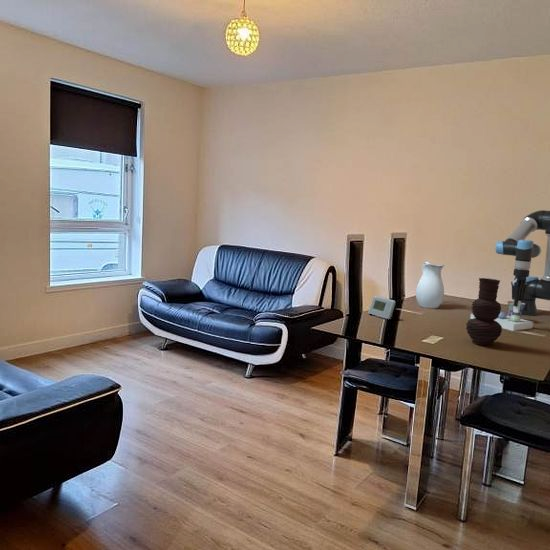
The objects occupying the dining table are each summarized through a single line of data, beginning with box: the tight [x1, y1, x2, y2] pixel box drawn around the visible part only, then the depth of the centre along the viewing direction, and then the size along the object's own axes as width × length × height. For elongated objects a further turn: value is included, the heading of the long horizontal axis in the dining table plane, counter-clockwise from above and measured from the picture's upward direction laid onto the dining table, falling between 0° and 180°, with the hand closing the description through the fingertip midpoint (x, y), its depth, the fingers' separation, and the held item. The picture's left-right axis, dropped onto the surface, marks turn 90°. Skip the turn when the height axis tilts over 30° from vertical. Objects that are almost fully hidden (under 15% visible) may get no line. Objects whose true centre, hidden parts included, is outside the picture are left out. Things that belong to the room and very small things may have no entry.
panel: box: [469, 313, 534, 332], centre depth 272 cm, size 18×26×4 cm
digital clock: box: [367, 295, 397, 321], centre depth 271 cm, size 16×9×11 cm, turn 22°
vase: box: [465, 277, 503, 346], centre depth 225 cm, size 15×15×30 cm
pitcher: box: [415, 261, 445, 309], centre depth 313 cm, size 24×17×28 cm
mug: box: [507, 300, 525, 319], centre depth 284 cm, size 12×9×11 cm
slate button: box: [498, 311, 508, 319], centre depth 272 cm, size 5×5×4 cm
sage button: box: [510, 315, 522, 323], centre depth 265 cm, size 5×5×4 cm
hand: (516, 312), depth 265 cm, fingers closed
